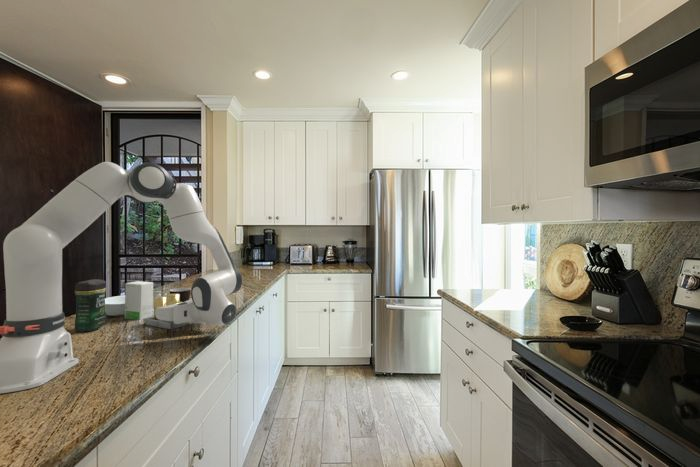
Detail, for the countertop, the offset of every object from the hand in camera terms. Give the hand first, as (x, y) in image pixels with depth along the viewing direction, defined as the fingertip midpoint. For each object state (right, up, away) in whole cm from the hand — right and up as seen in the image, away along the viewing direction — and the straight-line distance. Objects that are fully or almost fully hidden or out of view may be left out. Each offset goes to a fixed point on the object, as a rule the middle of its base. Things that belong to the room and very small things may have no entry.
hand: (171, 305), depth 127 cm
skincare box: (-20, -9, +12) cm, 25 cm away
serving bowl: (-32, -9, +22) cm, 39 cm away
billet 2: (+1, -6, 0) cm, 6 cm away
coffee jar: (-30, -9, 0) cm, 32 cm away
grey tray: (-2, -8, +1) cm, 9 cm away
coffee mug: (-9, -8, +24) cm, 27 cm away
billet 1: (-6, -7, +3) cm, 10 cm away
